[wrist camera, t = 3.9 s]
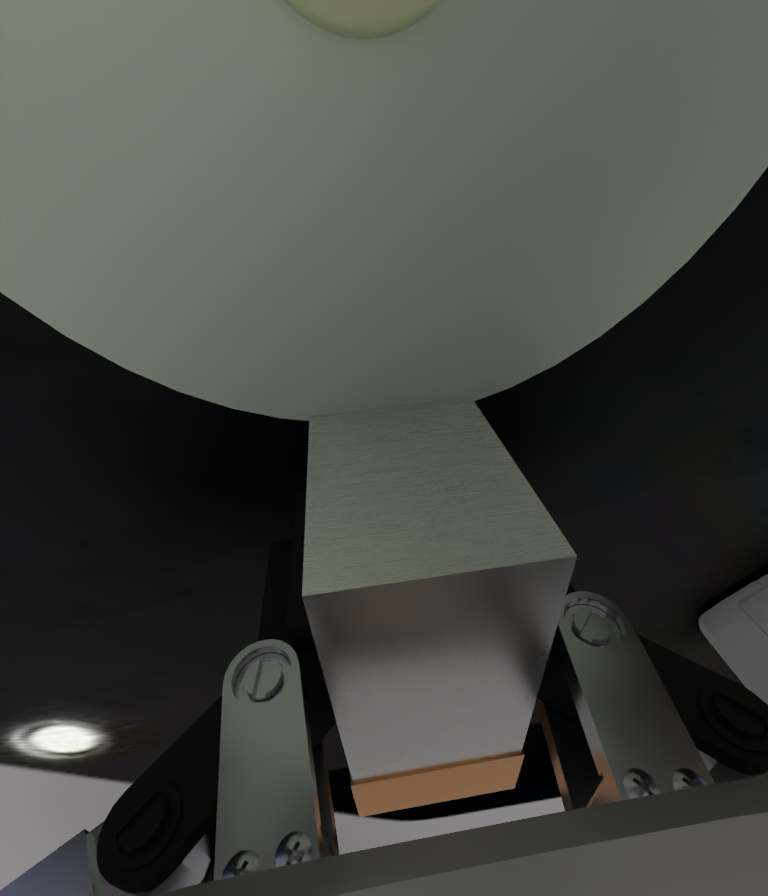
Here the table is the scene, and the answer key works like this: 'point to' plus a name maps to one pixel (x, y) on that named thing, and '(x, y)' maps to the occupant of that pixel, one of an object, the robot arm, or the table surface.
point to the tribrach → (365, 183)
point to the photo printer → (742, 634)
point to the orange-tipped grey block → (428, 598)
